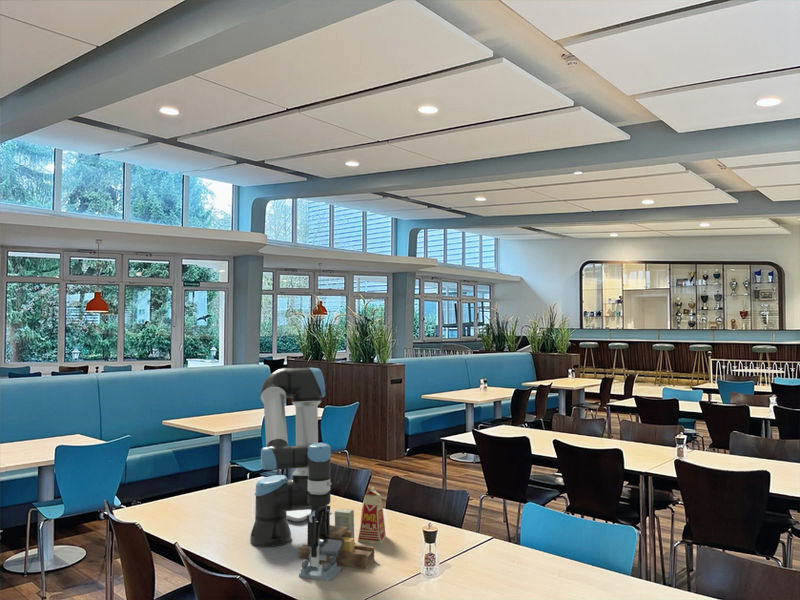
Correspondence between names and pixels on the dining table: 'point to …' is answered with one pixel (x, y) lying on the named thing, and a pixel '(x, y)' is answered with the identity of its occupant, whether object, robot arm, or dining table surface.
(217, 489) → the dining table surface
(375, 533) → the milk carton
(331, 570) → the cradle
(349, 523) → the skincare box
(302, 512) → the salad plate
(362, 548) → the wooden fixture
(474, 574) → the dining table surface
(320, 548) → the silver metal cylinder
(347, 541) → the yellow block
